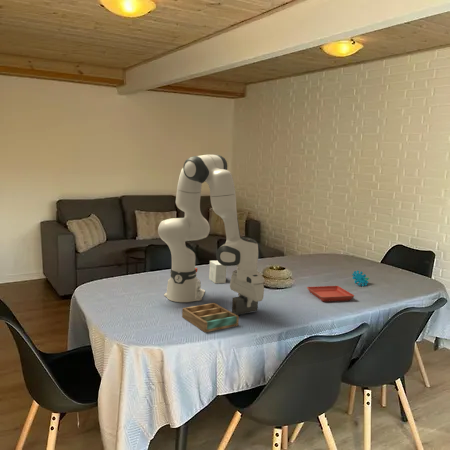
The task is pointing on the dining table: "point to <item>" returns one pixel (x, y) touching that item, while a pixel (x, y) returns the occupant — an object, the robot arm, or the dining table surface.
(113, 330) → the dining table surface
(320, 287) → the plant saucer
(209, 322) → the rack
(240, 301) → the panel
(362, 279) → the gear
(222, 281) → the skincare box
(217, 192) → the robot arm
